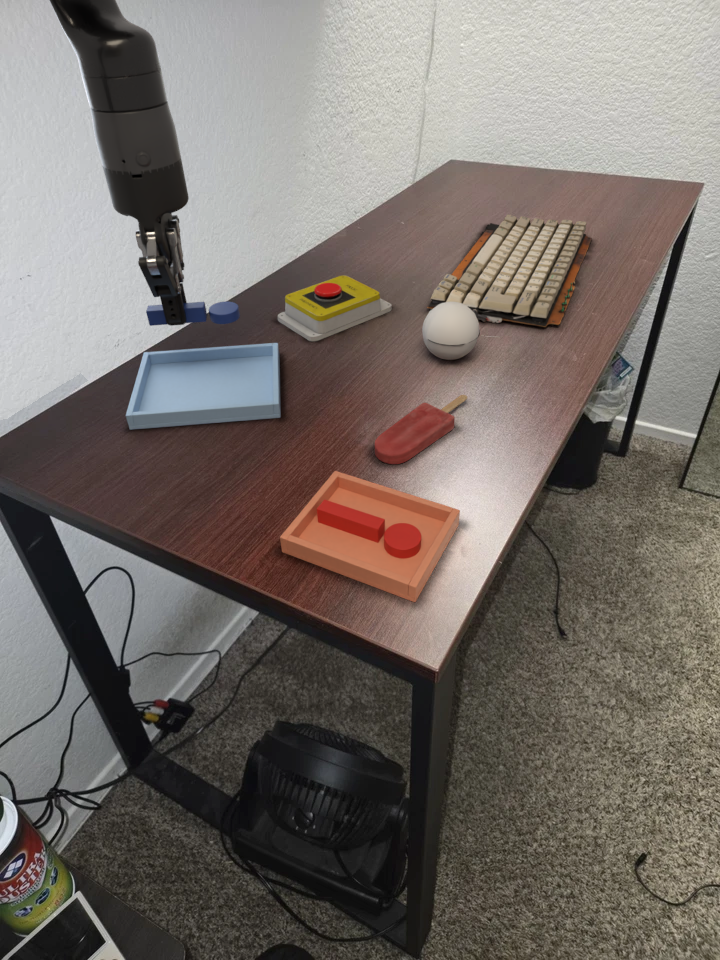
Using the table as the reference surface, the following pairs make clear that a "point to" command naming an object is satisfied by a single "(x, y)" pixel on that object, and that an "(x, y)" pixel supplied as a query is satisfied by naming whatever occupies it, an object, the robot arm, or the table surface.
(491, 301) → the mechanical keyboard
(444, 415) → the popsicle
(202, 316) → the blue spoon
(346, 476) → the clay tray
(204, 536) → the table surface
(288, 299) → the emergency button
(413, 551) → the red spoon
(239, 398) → the blue tray
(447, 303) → the seamed sphere
